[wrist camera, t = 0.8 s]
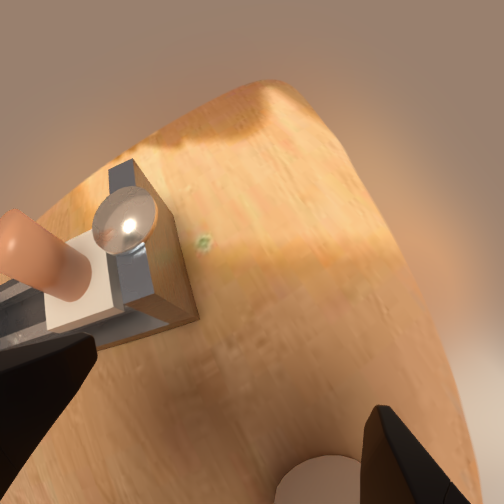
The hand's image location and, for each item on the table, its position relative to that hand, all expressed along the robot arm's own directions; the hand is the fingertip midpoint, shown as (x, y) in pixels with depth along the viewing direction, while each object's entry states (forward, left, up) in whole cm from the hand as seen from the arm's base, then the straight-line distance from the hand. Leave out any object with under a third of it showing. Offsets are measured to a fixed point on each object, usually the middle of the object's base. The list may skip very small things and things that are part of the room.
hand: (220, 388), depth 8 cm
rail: (0, +20, -14) cm, 25 cm away
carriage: (+3, +16, -11) cm, 19 cm away
